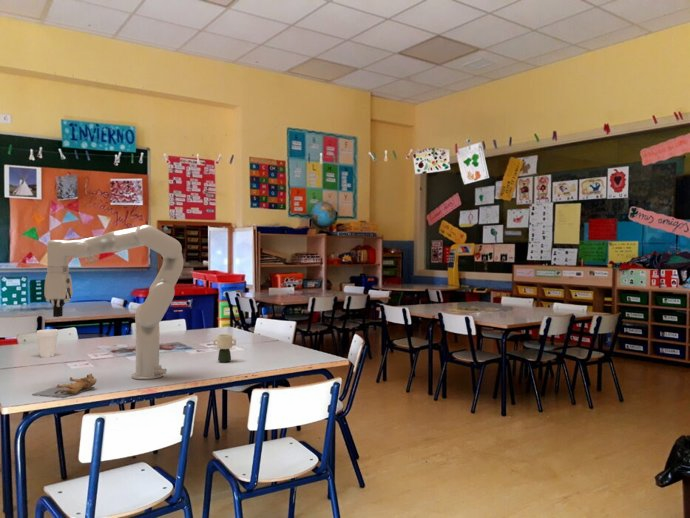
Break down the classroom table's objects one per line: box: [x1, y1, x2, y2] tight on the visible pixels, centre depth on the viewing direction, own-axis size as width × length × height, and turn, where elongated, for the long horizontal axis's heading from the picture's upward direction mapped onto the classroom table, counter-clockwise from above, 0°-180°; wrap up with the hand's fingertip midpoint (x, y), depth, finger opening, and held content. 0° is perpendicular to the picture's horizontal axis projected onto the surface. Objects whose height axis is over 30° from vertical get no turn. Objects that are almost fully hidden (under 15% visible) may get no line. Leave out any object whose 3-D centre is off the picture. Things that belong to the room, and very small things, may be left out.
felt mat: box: [31, 384, 95, 399], centre depth 214 cm, size 14×16×1 cm
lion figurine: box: [55, 373, 97, 394], centre depth 212 cm, size 15×5×9 cm
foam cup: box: [36, 328, 59, 358], centre depth 285 cm, size 10×9×13 cm
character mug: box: [212, 333, 237, 363], centre depth 273 cm, size 11×7×13 cm, turn 93°
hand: (57, 316), depth 225 cm, fingers closed
